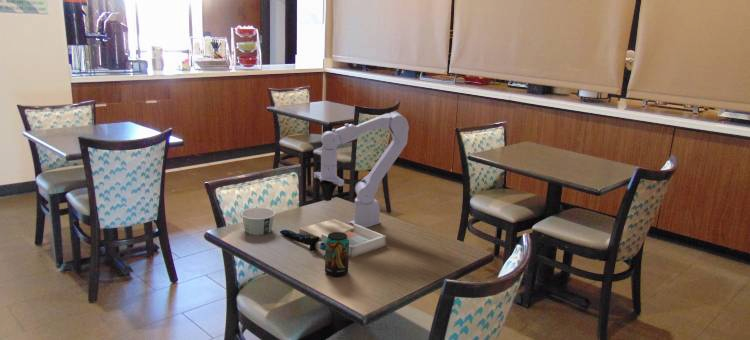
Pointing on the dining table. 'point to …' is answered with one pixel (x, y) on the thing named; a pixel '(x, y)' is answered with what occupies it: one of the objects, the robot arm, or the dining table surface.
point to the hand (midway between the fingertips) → (328, 200)
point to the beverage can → (336, 254)
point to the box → (372, 242)
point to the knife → (304, 239)
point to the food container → (258, 220)
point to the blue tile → (356, 240)
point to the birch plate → (325, 228)
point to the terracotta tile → (350, 234)
